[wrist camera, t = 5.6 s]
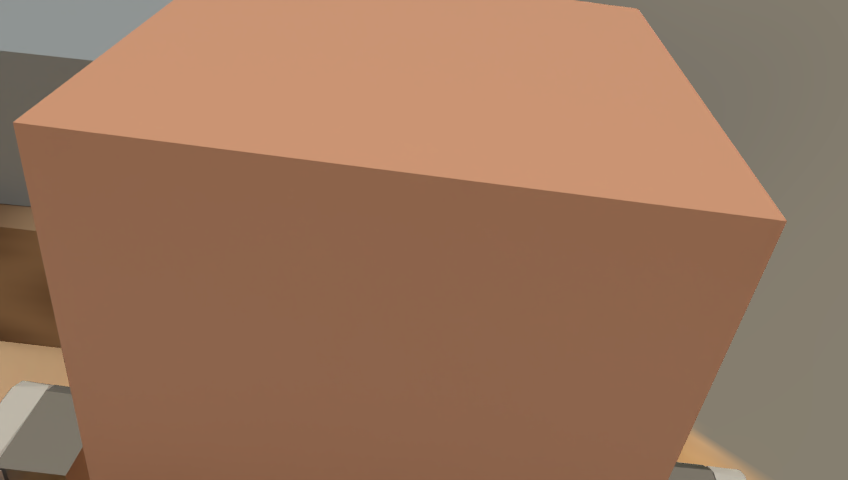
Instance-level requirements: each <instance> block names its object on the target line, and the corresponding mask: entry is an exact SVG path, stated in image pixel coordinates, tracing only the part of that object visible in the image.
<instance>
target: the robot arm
mask: <svg viewBox="0 0 848 480" xmlns="http://www.w3.org/2000/svg"><path fill="white" fill-rule="evenodd" d="M0 480H90V478H89V473H88V469H87V464H86V459H85V455H84V450H83V445H82V441H81V436H80V431H79V427H78V422H77V418H76V413H75V408H74V404H73V399H72V394H71V390H70V387H65V386H59V385H50V384H43V383H35V382H28V381H21V382H20V383H18V384H16V385H15V386H13V387H12V388H11V389H10V391H9V392H8V393H7V395H6V396H5V397H4V398H3V400H2V401H1V402H0ZM668 480H746V477H745V475H744V474H743V473H742V472H741V471H740V470H736V469H727V468H719V467H711V466H706V467H705V466H704V465H697V464H688V463H679V462H676V464H675V466H674V468H673V470H672V472H671V475H670V477H669V479H668Z"/></svg>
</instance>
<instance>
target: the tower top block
mask: <svg viewBox="0 0 848 480" xmlns="http://www.w3.org/2000/svg"><path fill="white" fill-rule="evenodd" d="M172 1H173V0H0V204H10V205H20V206H31V204H30V200H29V195H28V190H27V186H26V181H25V177H24V172H23V167H22V163H21V158H20V153H19V149H18V144H17V139H16V135H15V130H14V126H13V122H14V121H15V120H16V119H18V118H19V117H20V116H22V115H23V114H24V113H26V112H27V111H28V110H30V109H31V108H32V107H34V106H35V105H36V104H37V103H39V102H40V101H41V100H43V99H44V98H45V97H47V96H48V95H49V94H51V93H52V92H53V91H55V90H56V89H57V88H59V87H60V86H61V85H62V84H64V83H65V82H66V81H68V80H69V79H70V78H72V77H73V76H74V75H76V74H77V73H78V72H80V71H81V70H82V69H84V68H85V67H86V66H87V65H89V64H90V63H91V62H93V61H94V60H95V59H97V58H98V57H99V56H101V55H102V54H103V53H105V52H106V51H107V50H108V49H110V48H111V47H112V46H114V45H115V44H116V43H118V42H119V41H120V40H122V39H123V38H124V37H126V36H127V35H128V34H130V33H131V32H132V31H133V30H135V29H136V28H137V27H139V26H140V25H141V24H143V23H144V22H145V21H147V20H148V19H149V18H151V17H152V16H153V15H155V14H156V13H157V12H158V11H160V10H161V9H162V8H164V7H165V6H166V5H168V4H169V3H170V2H172Z"/></svg>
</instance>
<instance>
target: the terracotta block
mask: <svg viewBox="0 0 848 480" xmlns="http://www.w3.org/2000/svg"><path fill="white" fill-rule="evenodd" d="M13 126H14V130H15V135H16V139H17V144H18V149H19V153H20V158H21V163H22V167H23V172H24V177H25V181H26V186H27V190H28V195H29V200H30V204H31V209H32V214H33V218H34V223H35V228H36V232H37V237H38V241H39V246H40V251H41V255H42V260H43V265H44V269H45V274H46V279H47V283H48V288H49V292H50V297H51V302H52V306H53V311H54V316H55V320H56V325H57V330H58V334H59V339H60V343H61V348H62V353H63V357H64V362H65V367H66V371H67V376H68V381H69V385H70V390H71V394H72V399H73V404H74V408H75V413H76V418H77V422H78V427H79V431H80V436H81V441H82V445H83V450H84V455H85V459H86V464H87V469H88V473H89V478H90V480H668V479H669V477H670V475H671V472H672V470H673V468H674V466H675V464H676V462H677V459H678V457H679V455H680V453H681V451H682V448H683V446H684V444H685V442H686V440H687V438H688V435H689V433H690V431H691V429H692V427H693V425H694V422H695V420H696V418H697V416H698V413H699V411H700V409H701V407H702V405H703V403H704V400H705V398H706V396H707V394H708V392H709V390H710V388H711V385H712V383H713V381H714V379H715V377H716V374H717V372H718V370H719V368H720V366H721V363H722V361H723V359H724V357H725V355H726V353H727V350H728V348H729V346H730V344H731V342H732V340H733V337H734V335H735V333H736V330H737V329H738V327H739V324H740V322H741V320H742V317H743V316H744V313H745V311H746V309H747V307H748V305H749V303H750V300H751V298H752V296H753V294H754V292H755V289H756V287H757V285H758V283H759V281H760V278H761V276H762V274H763V272H764V270H765V268H766V265H767V263H768V261H769V259H770V257H771V255H772V252H773V250H774V248H775V246H776V244H777V242H778V239H779V237H780V235H781V233H782V231H783V228H784V226H785V224H786V222H787V221H786V219H785V218H784V217H783V215H782V214H781V212H780V211H779V209H778V208H777V206H776V205H775V204H774V202H773V201H772V199H771V198H770V196H769V195H768V194H767V192H766V191H765V189H764V188H763V187H762V185H761V184H760V182H759V181H758V179H757V178H756V176H755V175H754V174H753V172H752V171H751V169H750V168H749V166H748V165H747V164H746V162H745V161H744V160H743V158H742V157H741V155H740V154H739V152H738V151H737V149H736V148H735V147H734V145H733V144H732V142H731V141H730V139H729V138H728V136H727V135H726V134H725V132H724V131H723V129H722V128H721V126H720V125H719V124H718V122H717V121H716V119H715V118H714V117H713V115H712V114H711V112H710V111H709V110H708V108H707V107H706V105H705V104H704V102H703V101H702V99H701V98H700V97H699V95H698V94H697V92H696V91H695V89H694V88H693V87H692V85H691V84H690V83H689V81H688V79H687V78H686V77H685V75H684V74H683V72H682V71H681V69H680V68H679V67H678V65H677V64H676V62H675V61H674V59H673V58H672V57H671V55H670V54H669V52H668V51H667V49H666V48H665V47H664V45H663V44H662V42H661V41H660V39H659V38H658V37H657V35H656V34H655V33H654V31H653V29H652V28H651V27H650V25H649V24H648V22H647V21H646V19H645V18H644V17H643V15H642V14H641V13H640V11H639V9H635V8H628V7H621V6H613V5H605V4H597V3H590V2H583V1H575V0H173V1H172V2H170V3H169V4H168V5H166V6H165V7H164V8H162V9H161V10H160V11H158V12H157V13H156V14H155V15H153V16H152V17H151V18H149V19H148V20H147V21H145V22H144V23H143V24H141V25H140V26H139V27H137V28H136V29H135V30H133V31H132V32H131V33H130V34H128V35H127V36H126V37H124V38H123V39H122V40H120V41H119V42H118V43H116V44H115V45H114V46H112V47H111V48H110V49H108V50H107V51H106V52H105V53H103V54H102V55H101V56H99V57H98V58H97V59H95V60H94V61H93V62H91V63H90V64H89V65H87V66H86V67H85V68H84V69H82V70H81V71H80V72H78V73H77V74H76V75H74V76H73V77H72V78H70V79H69V80H68V81H66V82H65V83H64V84H62V85H61V86H60V87H59V88H57V89H56V90H55V91H53V92H52V93H51V94H49V95H48V96H47V97H45V98H44V99H43V100H41V101H40V102H39V103H37V104H36V105H35V106H34V107H32V108H31V109H30V110H28V111H27V112H26V113H24V114H23V115H22V116H20V117H19V118H18V119H16V120H15V121H14V122H13Z"/></svg>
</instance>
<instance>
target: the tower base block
mask: <svg viewBox="0 0 848 480" xmlns="http://www.w3.org/2000/svg"><path fill="white" fill-rule="evenodd" d="M0 341H6V342H15V343H24V344H32V345H41V346H49V347H58V348H61V343H60V339H59V334H58V330H57V325H56V320H55V316H54V311H53V306H52V302H51V297H50V292H49V288H48V283H47V279H46V274H45V269H44V265H43V260H42V255H41V251H40V246H39V241H38V237H37V232H36V228H35V223H34V218H33V214H32V209H31V206H20V205H10V204H0Z"/></svg>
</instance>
